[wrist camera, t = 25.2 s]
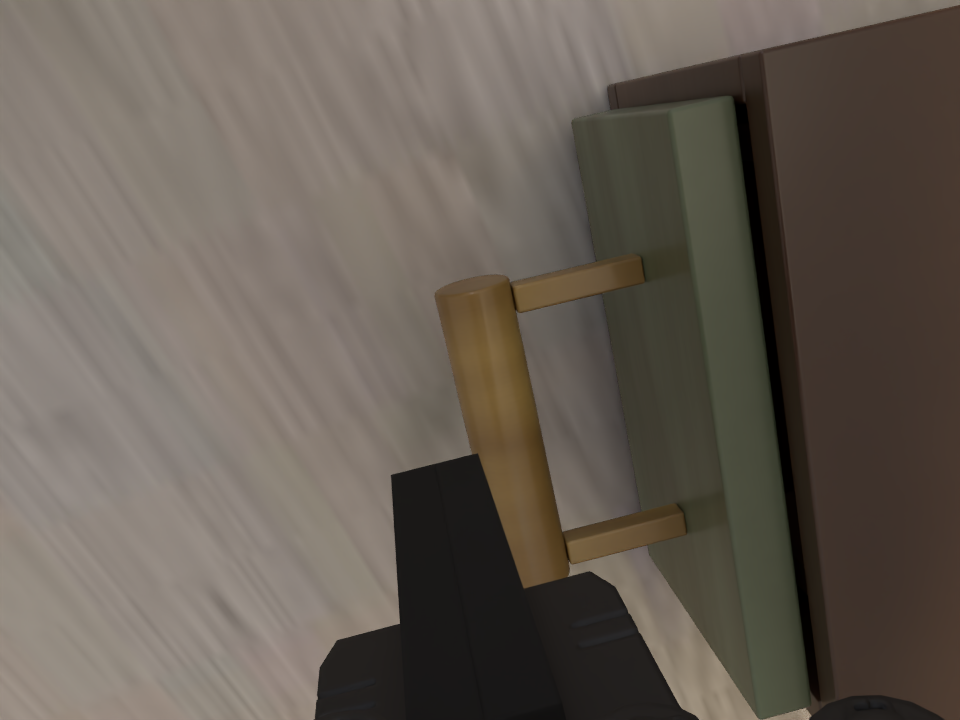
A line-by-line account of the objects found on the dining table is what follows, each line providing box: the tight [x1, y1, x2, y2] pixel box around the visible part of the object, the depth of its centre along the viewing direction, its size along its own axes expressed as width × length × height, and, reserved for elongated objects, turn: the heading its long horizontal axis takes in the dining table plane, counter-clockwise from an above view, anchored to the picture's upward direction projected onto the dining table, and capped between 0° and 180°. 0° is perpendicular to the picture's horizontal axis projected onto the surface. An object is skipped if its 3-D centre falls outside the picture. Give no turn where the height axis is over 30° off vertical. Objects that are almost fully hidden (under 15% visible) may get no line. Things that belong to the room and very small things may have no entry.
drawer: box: [435, 95, 812, 720], centre depth 20 cm, size 19×12×7 cm, turn 102°
